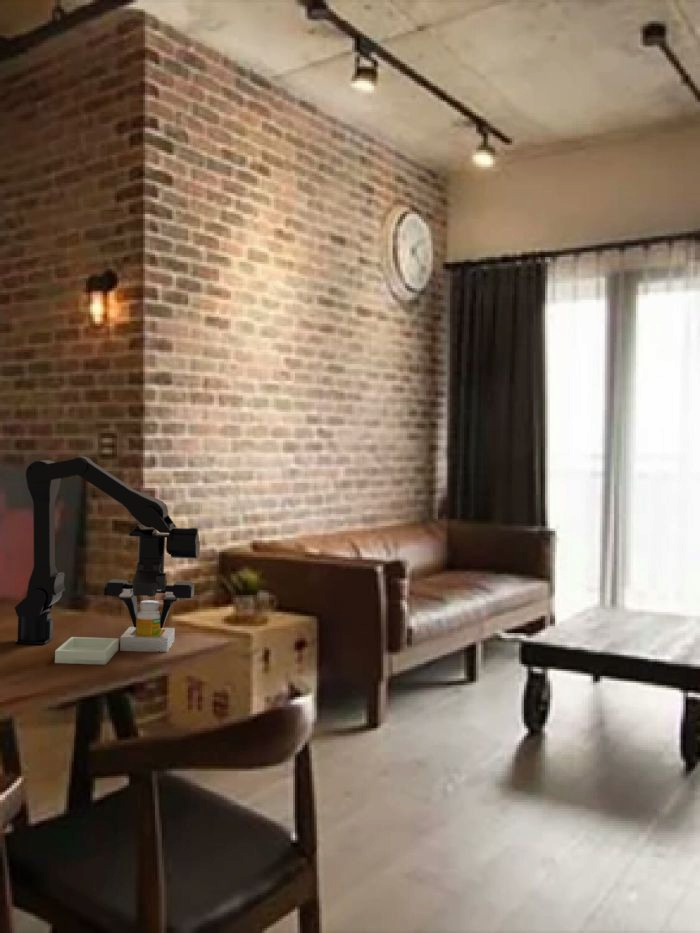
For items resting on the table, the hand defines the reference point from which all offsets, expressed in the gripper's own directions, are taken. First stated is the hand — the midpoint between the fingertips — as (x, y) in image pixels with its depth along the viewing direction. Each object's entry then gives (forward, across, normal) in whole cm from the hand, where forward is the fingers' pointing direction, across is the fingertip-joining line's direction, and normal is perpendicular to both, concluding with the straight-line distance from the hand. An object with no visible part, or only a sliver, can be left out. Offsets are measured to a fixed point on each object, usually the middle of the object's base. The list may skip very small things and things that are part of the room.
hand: (148, 627), depth 191 cm
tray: (+4, -10, -10) cm, 15 cm away
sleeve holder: (+4, 0, 0) cm, 4 cm away
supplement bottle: (+4, 0, 0) cm, 4 cm away
